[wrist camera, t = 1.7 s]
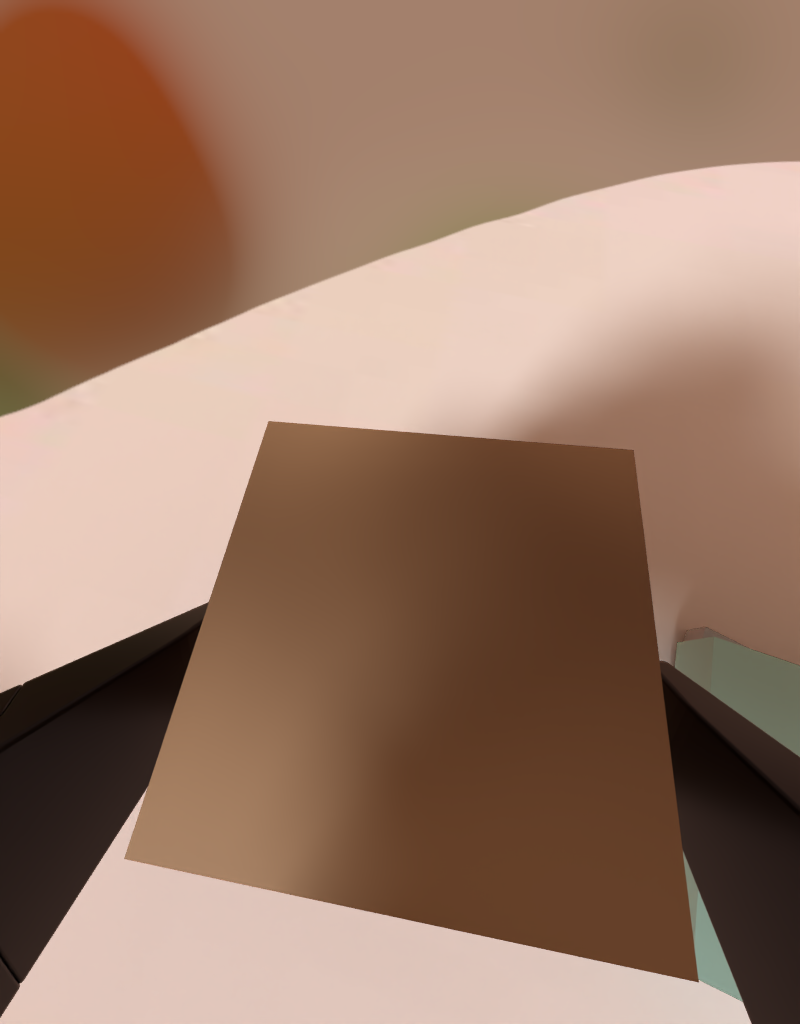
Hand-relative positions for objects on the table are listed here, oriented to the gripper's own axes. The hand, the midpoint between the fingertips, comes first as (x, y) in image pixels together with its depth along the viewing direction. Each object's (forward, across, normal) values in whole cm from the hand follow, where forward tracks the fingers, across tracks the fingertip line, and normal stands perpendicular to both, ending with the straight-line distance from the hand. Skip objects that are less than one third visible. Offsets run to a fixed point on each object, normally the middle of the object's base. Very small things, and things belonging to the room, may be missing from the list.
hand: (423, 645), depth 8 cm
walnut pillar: (+6, 0, +6) cm, 8 cm away
